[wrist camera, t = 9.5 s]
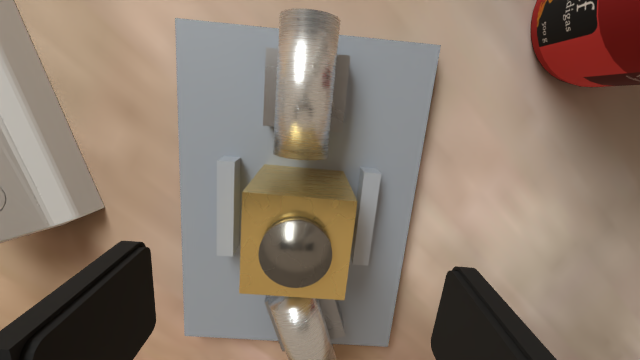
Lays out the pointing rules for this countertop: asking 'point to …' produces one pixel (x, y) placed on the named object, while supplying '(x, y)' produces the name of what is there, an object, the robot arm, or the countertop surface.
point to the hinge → (35, 143)
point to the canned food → (588, 41)
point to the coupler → (296, 233)
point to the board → (257, 149)
